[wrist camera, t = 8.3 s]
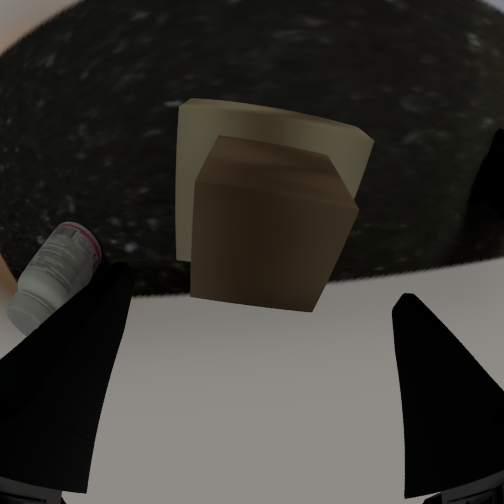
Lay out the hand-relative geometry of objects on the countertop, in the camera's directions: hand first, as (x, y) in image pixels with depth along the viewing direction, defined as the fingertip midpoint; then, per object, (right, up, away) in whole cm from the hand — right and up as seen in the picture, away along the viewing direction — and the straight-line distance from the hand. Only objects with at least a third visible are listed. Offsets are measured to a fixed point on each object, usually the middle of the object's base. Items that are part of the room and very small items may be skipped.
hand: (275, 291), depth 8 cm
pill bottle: (-15, +2, +11) cm, 18 cm away
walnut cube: (0, +4, +5) cm, 7 cm away
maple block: (0, +5, +8) cm, 10 cm away
